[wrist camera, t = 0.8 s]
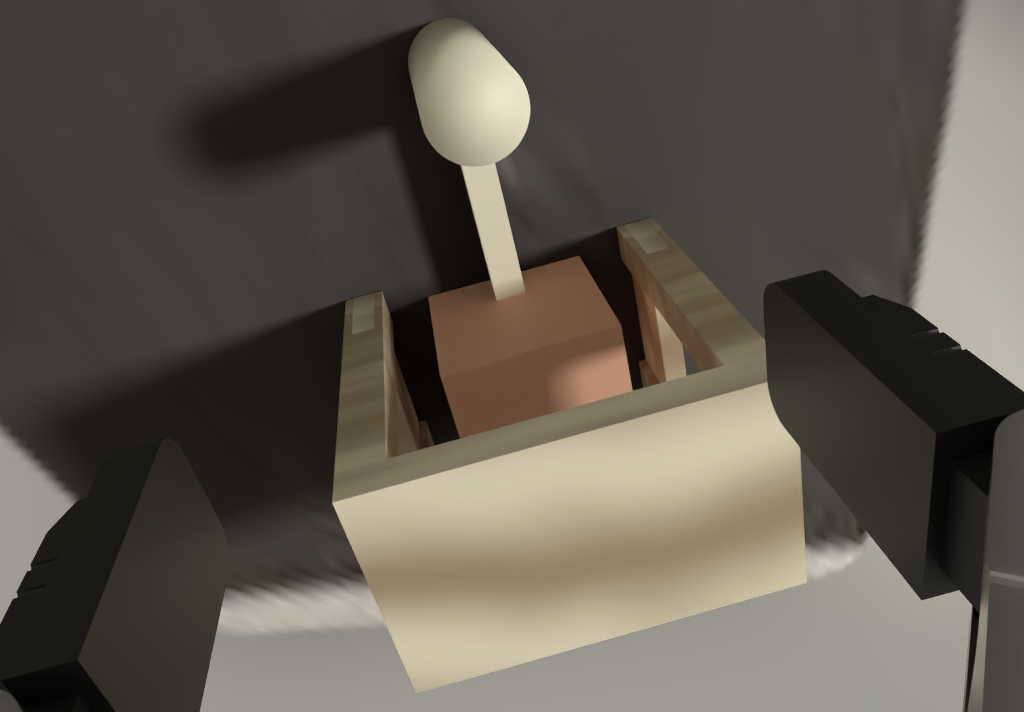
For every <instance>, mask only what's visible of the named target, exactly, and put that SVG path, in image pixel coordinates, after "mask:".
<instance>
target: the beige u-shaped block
mask: <svg viewBox="0 0 1024 712" xmlns="http://www.w3.org/2000/svg"><path fill="white" fill-rule="evenodd" d="M616 228H617V234H618V240H619V246H620V252H621V258H622V261H623V263H624V264H625V265H626V267H627V268H628V269H629V271H630V272H631V274H632V278H633V284H634V291H635V297H636V303H637V309H638V315H639V322H640V328H641V334H642V340H643V346H644V352H645V360H642V361H639V366H640V372H641V378H642V384H643V388H642V389H638V390H634V391H631V392H627V393H623V394H620V395H616V396H613V397H609V398H605V399H602V400H598V401H595V402H591V403H587V404H584V405H580V406H576V407H573V408H569V409H566V410H562V411H558V412H555V413H551V414H548V415H544V416H540V417H537V418H533V419H529V420H526V421H522V422H519V423H515V424H511V425H508V426H504V427H501V428H497V429H493V430H490V431H486V432H482V433H479V434H475V435H472V436H468V437H464V438H461V439H457V440H454V441H450V442H446V443H443V444H439V445H434V442H433V439H432V436H431V433H430V431H429V428H428V425H427V422H426V420H424V421H420V422H419V421H418V418H417V415H416V412H415V409H414V406H413V403H412V401H411V398H410V395H409V392H408V389H407V386H406V383H405V380H404V377H403V375H402V372H401V369H400V366H399V363H398V360H397V357H396V354H395V351H394V337H393V322H392V319H391V316H390V313H389V310H388V307H387V304H386V301H385V298H384V296H383V293H382V291H379V292H376V293H372V294H368V295H365V296H361V297H357V298H354V299H350V300H346V307H345V322H344V337H343V351H342V366H341V381H340V395H339V410H338V425H337V440H336V454H335V469H334V484H333V499H332V503H333V506H334V508H335V510H336V512H337V515H338V517H339V519H340V521H341V524H342V526H343V528H344V531H345V533H346V535H347V537H348V540H349V542H350V544H351V546H352V549H353V551H354V553H355V555H356V558H357V560H358V562H359V564H360V567H361V569H362V571H363V573H364V576H365V578H366V580H367V583H368V585H369V587H370V589H371V592H372V594H373V596H374V598H375V601H376V603H377V605H378V607H379V610H380V612H381V614H382V616H383V619H384V621H385V623H386V625H387V628H388V630H389V632H390V634H391V637H392V639H393V641H394V644H395V646H396V648H397V650H398V653H399V655H400V657H401V659H402V661H403V664H404V666H405V668H406V670H407V673H408V675H409V677H410V680H411V682H412V684H413V686H414V689H415V691H416V693H419V692H423V691H426V690H430V689H434V688H437V687H441V686H444V685H448V684H451V683H455V682H458V681H462V680H466V679H469V678H473V677H476V676H479V675H483V674H486V673H490V672H494V671H497V670H500V669H504V668H508V667H511V666H515V665H518V664H522V663H525V662H529V661H533V660H536V659H539V658H543V657H547V656H550V655H554V654H557V653H560V652H564V651H568V650H571V649H574V648H578V647H582V646H585V645H589V644H592V643H595V642H599V641H603V640H606V639H610V638H613V637H617V636H620V635H624V634H628V633H631V632H635V631H638V630H642V629H645V628H649V627H652V626H656V625H659V624H663V623H666V622H670V621H673V620H677V619H681V618H684V617H687V616H691V615H694V614H698V613H702V612H705V611H709V610H712V609H716V608H719V607H723V606H726V605H730V604H733V603H737V602H740V601H744V600H747V599H751V598H754V597H758V596H762V595H765V594H768V593H772V592H776V591H779V590H783V589H786V588H790V587H793V586H797V585H800V584H804V583H807V578H806V558H805V538H804V518H803V499H802V479H801V459H800V447H799V445H798V444H797V443H796V442H795V440H794V439H793V438H792V437H791V435H790V434H789V433H788V432H787V430H786V429H785V428H784V427H783V425H782V424H781V422H780V420H779V419H778V417H777V415H776V412H775V410H774V408H773V405H772V402H771V398H770V395H769V390H768V384H767V366H766V345H765V340H764V339H763V338H762V336H761V335H760V334H759V333H758V332H757V331H756V330H755V329H754V328H753V327H752V326H751V325H750V323H749V322H748V321H747V320H746V319H745V318H744V317H743V316H742V315H741V314H740V313H739V312H738V310H737V309H736V308H735V307H734V306H733V305H732V304H731V303H730V302H729V301H728V300H727V299H726V297H725V296H724V295H723V294H722V293H721V292H720V291H719V290H718V289H717V288H716V287H715V286H714V284H713V283H712V282H711V281H710V280H709V279H708V278H707V277H706V276H705V275H704V274H703V273H702V271H701V270H700V269H699V268H698V267H697V266H696V265H695V264H694V263H693V262H692V261H691V260H690V258H689V257H688V256H687V255H686V254H685V253H684V252H683V251H682V250H681V249H680V248H679V247H678V245H677V244H676V243H675V242H674V241H673V240H672V239H671V238H670V237H669V236H668V235H667V234H666V232H665V231H664V230H663V229H662V228H661V227H660V226H659V225H658V224H657V223H656V222H655V221H654V219H653V218H648V219H644V220H641V221H637V222H633V223H630V224H626V225H622V226H619V227H616ZM682 344H683V346H684V347H685V348H686V350H687V351H688V352H689V354H690V355H691V357H692V358H693V359H694V361H695V362H696V364H697V365H698V366H699V368H700V369H701V370H702V372H699V373H696V374H692V375H689V376H687V375H686V369H685V361H684V354H683V346H682Z"/></svg>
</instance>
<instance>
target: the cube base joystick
mask: <svg viewBox="0 0 1024 712" xmlns="http://www.w3.org/2000/svg"><path fill="white" fill-rule="evenodd" d="M408 69H409V73H410V78H411V82H412V86H413V90H414V94H415V99H416V103H417V107H418V111H419V115H420V120H421V124H422V127H423V130H424V133H425V135H426V137H427V139H428V141H429V142H430V144H431V145H432V146H433V148H434V149H435V150H436V151H437V152H438V153H439V154H441V155H442V156H443V157H445V158H446V159H448V160H450V161H452V162H454V163H456V164H459V165H461V169H462V173H463V177H464V181H465V184H466V188H467V192H468V196H469V200H470V204H471V207H472V211H473V215H474V219H475V223H476V226H477V230H478V234H479V238H480V242H481V246H482V249H483V253H484V257H485V261H486V265H487V268H488V272H489V276H490V280H488V281H484V282H481V283H477V284H473V285H470V286H466V287H462V288H459V289H455V290H451V291H448V292H444V293H440V294H437V295H433V296H429V297H428V299H429V305H430V312H431V319H432V326H433V332H434V339H435V346H436V352H437V359H438V366H439V373H440V377H441V380H442V383H443V386H444V390H445V393H446V396H447V399H448V402H449V405H450V408H451V412H452V415H453V418H454V421H455V424H456V427H457V430H458V433H459V437H460V439H461V438H464V437H468V436H472V435H475V434H479V433H482V432H486V431H490V430H493V429H497V428H501V427H504V426H508V425H511V424H515V423H519V422H522V421H526V420H529V419H533V418H537V417H540V416H544V415H548V414H551V413H555V412H558V411H562V410H566V409H569V408H573V407H576V406H580V405H584V404H587V403H591V402H595V401H598V400H602V399H605V398H609V397H613V396H616V395H620V394H623V393H627V392H631V391H633V390H632V384H631V378H630V373H629V367H628V361H627V355H626V350H625V344H624V338H623V333H622V327H621V324H620V322H619V321H618V319H617V317H616V316H615V314H614V313H613V311H612V309H611V308H610V306H609V304H608V303H607V301H606V299H605V298H604V296H603V294H602V293H601V291H600V289H599V288H598V286H597V284H596V283H595V281H594V280H593V278H592V276H591V275H590V273H589V271H588V270H587V268H586V266H585V265H584V263H583V261H582V260H581V258H580V256H576V257H572V258H569V259H565V260H561V261H558V262H554V263H550V264H547V265H543V266H539V267H536V268H532V269H528V270H525V271H521V270H520V266H519V262H518V258H517V253H516V249H515V245H514V241H513V237H512V232H511V228H510V224H509V220H508V216H507V211H506V207H505V203H504V199H503V195H502V191H501V186H500V182H499V178H498V174H497V170H496V165H495V163H496V162H498V161H500V160H502V159H503V158H505V157H506V156H508V155H509V154H510V153H511V152H512V151H513V150H514V149H515V148H516V147H517V146H518V144H519V143H520V142H521V140H522V138H523V137H524V135H525V132H526V130H527V127H528V123H529V119H530V101H529V96H528V92H527V89H526V87H525V84H524V82H523V81H522V79H521V77H520V76H519V75H518V73H517V72H516V71H515V70H514V69H513V68H512V67H511V65H510V64H509V63H508V62H507V61H506V60H505V59H504V58H503V57H502V56H501V54H500V53H499V52H498V51H497V50H496V49H495V48H494V47H493V46H492V45H491V43H490V42H489V41H488V40H487V39H486V38H485V37H484V36H483V35H482V34H481V32H480V31H479V30H478V29H477V28H475V27H474V26H473V25H471V24H469V23H468V22H465V21H463V20H460V19H454V18H444V19H439V20H436V21H433V22H431V23H429V24H428V25H426V26H425V27H424V28H423V29H421V30H420V31H419V33H418V34H417V35H416V37H415V38H414V40H413V42H412V44H411V47H410V50H409V55H408Z"/></svg>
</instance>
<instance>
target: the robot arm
mask: <svg viewBox="0 0 1024 712" xmlns="http://www.w3.org/2000/svg"><path fill="white" fill-rule="evenodd" d="M764 324H765V345H766V366H767V384H768V390H769V395H770V398H771V402H772V405H773V408H774V410H775V412H776V415H777V417H778V419H779V420H780V422H781V424H782V425H783V427H784V428H785V429H786V430H787V432H788V433H789V434H790V435H791V437H792V438H793V439H794V440H795V442H796V443H797V444H798V445H799V447H800V448H801V449H802V450H803V452H804V453H805V454H806V456H807V457H808V458H809V459H810V461H811V462H812V463H813V464H814V466H815V467H816V468H817V469H818V471H819V472H820V473H821V474H822V476H823V477H824V478H825V479H826V481H827V482H828V483H829V484H830V486H831V487H832V488H833V489H834V491H835V492H836V493H837V494H838V496H839V497H840V498H841V500H842V501H843V502H844V503H845V505H846V506H847V507H848V508H849V510H850V511H851V512H852V513H853V515H854V516H855V517H856V518H857V520H858V521H859V522H860V523H861V525H862V526H863V527H864V528H865V530H866V531H867V532H868V533H869V535H870V536H871V537H872V538H873V540H874V541H875V542H876V544H877V545H878V546H879V547H880V549H881V550H882V551H883V552H884V553H885V555H886V556H887V557H888V559H889V560H890V561H891V562H892V564H893V565H894V566H895V567H896V568H897V570H898V571H899V572H900V574H901V575H902V576H903V577H904V579H905V580H906V581H907V582H908V584H909V585H910V586H911V587H912V588H913V590H914V591H915V593H916V594H917V595H918V596H919V597H920V599H921V600H924V599H928V598H932V597H935V596H939V595H943V594H946V593H950V592H953V591H957V590H960V591H961V593H962V594H963V595H964V596H965V597H966V598H967V600H969V602H970V603H971V604H972V609H971V616H970V623H969V635H968V649H967V661H966V675H965V687H964V700H963V712H1024V392H1023V391H1022V390H1021V389H1019V388H1018V387H1016V386H1015V385H1014V384H1012V383H1011V382H1010V381H1008V380H1007V379H1006V378H1004V377H1003V376H1002V375H1000V374H999V373H998V372H996V371H995V370H994V369H992V368H991V367H990V366H988V365H987V364H986V363H984V362H983V361H982V360H980V359H979V358H978V357H976V356H975V355H974V354H972V353H971V352H969V351H968V350H967V349H965V350H962V349H961V345H960V344H959V343H957V342H956V341H955V340H953V339H952V338H951V337H949V336H948V335H947V334H945V333H944V332H942V333H939V331H938V328H937V327H936V326H935V325H933V324H932V323H930V322H929V321H928V320H926V319H925V318H924V317H922V316H921V315H920V314H918V313H917V312H916V311H914V310H913V309H912V308H909V307H906V306H904V305H901V304H898V303H895V302H892V301H889V300H886V299H883V298H881V297H878V296H875V295H871V296H867V297H863V298H862V297H860V296H859V295H858V294H857V293H855V292H854V291H853V290H852V289H850V288H849V287H848V286H846V285H845V284H844V283H843V282H841V281H840V280H839V279H838V278H836V277H835V276H834V275H833V274H831V273H830V272H828V271H826V270H821V271H817V272H813V273H809V274H805V275H801V276H797V277H794V278H790V279H786V280H782V281H778V282H774V283H771V284H769V285H768V286H767V287H766V289H765V292H764ZM228 573H229V549H228V543H227V539H226V535H225V532H224V529H223V527H222V525H221V522H220V520H219V519H218V517H217V515H216V513H215V511H214V509H213V507H212V505H211V503H210V501H209V500H208V498H207V496H206V494H205V492H204V490H203V488H202V486H201V484H200V482H199V481H198V479H197V477H196V475H195V473H194V471H193V469H192V467H191V465H190V463H189V462H188V460H187V458H186V456H185V454H184V452H183V451H182V449H181V448H180V446H179V445H178V444H177V443H176V442H175V441H174V440H172V439H163V440H160V441H156V442H152V443H148V444H144V445H140V446H136V447H133V448H129V449H125V450H121V451H117V452H113V453H111V454H109V455H108V456H107V457H106V459H105V461H104V463H103V465H102V467H101V469H100V471H99V473H98V475H97V477H96V480H95V482H94V484H93V486H92V488H91V490H90V492H89V494H88V496H87V499H83V500H79V501H77V502H76V503H75V504H74V505H73V506H72V507H71V508H70V509H69V510H68V511H67V512H66V513H65V514H64V515H63V516H62V517H61V518H60V519H59V521H58V522H57V523H56V524H55V525H54V526H53V527H52V528H51V529H50V530H49V531H48V532H47V534H46V535H45V538H44V539H43V541H42V543H41V545H40V547H39V549H38V551H37V553H36V555H35V557H34V559H33V561H32V563H31V571H27V573H26V575H25V577H24V578H23V581H22V582H21V585H20V586H19V589H18V590H17V594H18V598H15V599H13V600H12V602H11V604H10V606H9V608H8V610H7V612H6V614H5V616H4V618H3V620H2V622H1V624H0V712H199V711H200V707H201V702H202V697H203V693H204V688H205V683H206V678H207V673H208V669H209V664H210V659H211V654H212V649H213V644H214V640H215V635H216V630H217V625H218V621H219V616H220V611H221V606H222V601H223V597H224V592H225V587H226V582H227V577H228Z"/></svg>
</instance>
